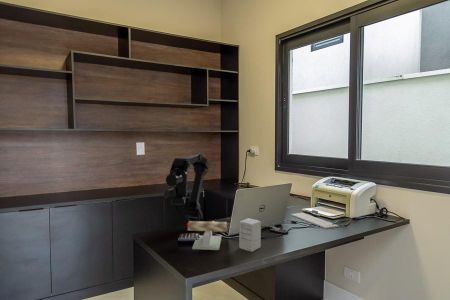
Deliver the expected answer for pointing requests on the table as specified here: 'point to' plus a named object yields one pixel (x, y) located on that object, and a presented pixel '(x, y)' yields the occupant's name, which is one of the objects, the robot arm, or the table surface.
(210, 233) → the ridge stand
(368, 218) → the table surface
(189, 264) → the table surface
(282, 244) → the table surface
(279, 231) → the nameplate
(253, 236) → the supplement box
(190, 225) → the maple bar
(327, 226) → the grey flat block
